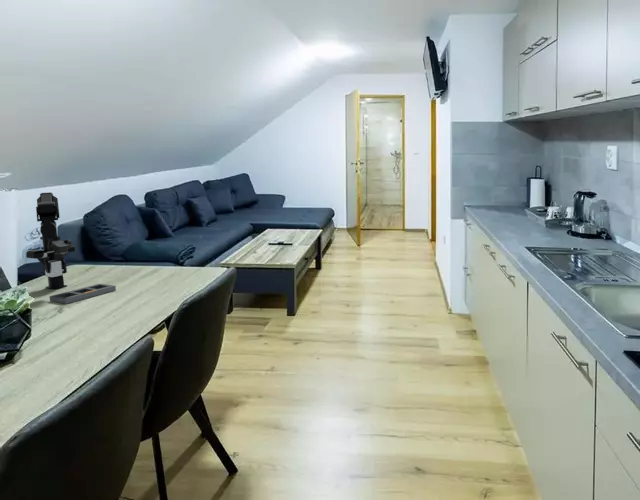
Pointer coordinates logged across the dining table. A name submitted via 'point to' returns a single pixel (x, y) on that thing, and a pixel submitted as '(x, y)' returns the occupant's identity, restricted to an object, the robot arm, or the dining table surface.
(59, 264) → the steel block
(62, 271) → the robot arm
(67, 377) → the dining table surface
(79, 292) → the grey slotted frame
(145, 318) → the dining table surface
